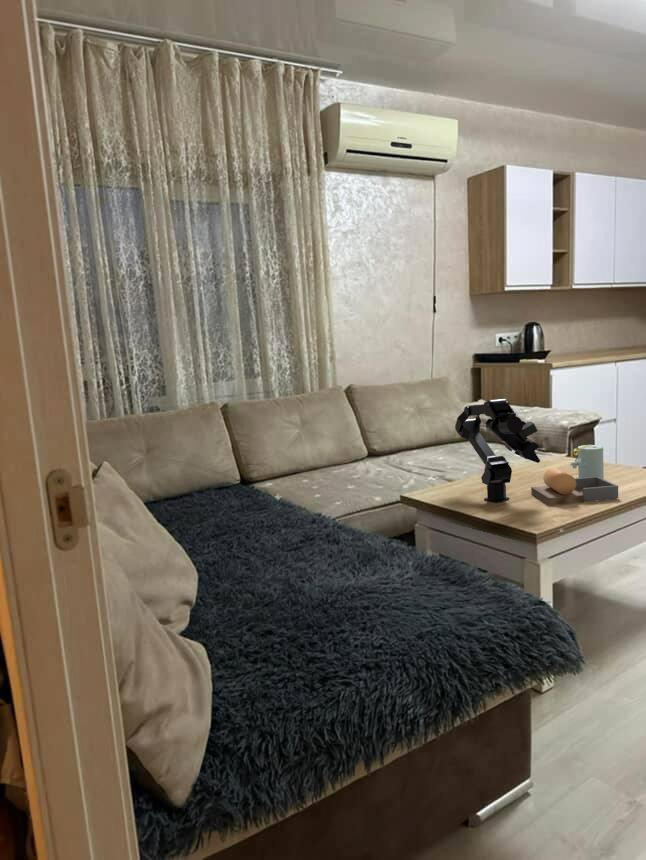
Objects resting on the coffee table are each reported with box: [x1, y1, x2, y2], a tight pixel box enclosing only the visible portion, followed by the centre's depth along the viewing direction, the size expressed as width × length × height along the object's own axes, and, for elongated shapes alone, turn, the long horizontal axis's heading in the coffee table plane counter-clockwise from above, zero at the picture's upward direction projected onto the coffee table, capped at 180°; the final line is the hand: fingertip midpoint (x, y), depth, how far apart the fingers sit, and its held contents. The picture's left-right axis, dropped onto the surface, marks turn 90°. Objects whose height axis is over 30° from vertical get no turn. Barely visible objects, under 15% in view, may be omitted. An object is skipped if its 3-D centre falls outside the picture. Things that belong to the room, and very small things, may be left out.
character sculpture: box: [570, 444, 605, 480], centre depth 233 cm, size 20×12×13 cm, turn 137°
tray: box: [574, 477, 619, 503], centre depth 214 cm, size 12×15×4 cm
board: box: [530, 485, 585, 506], centre depth 214 cm, size 12×16×2 cm
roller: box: [542, 467, 576, 495], centre depth 213 cm, size 11×7×7 cm, turn 2°
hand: (538, 461), depth 212 cm, fingers closed
